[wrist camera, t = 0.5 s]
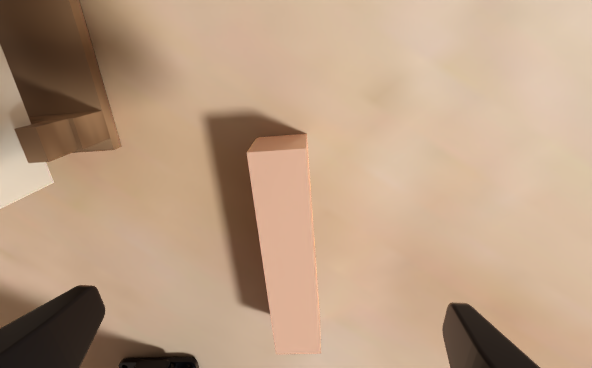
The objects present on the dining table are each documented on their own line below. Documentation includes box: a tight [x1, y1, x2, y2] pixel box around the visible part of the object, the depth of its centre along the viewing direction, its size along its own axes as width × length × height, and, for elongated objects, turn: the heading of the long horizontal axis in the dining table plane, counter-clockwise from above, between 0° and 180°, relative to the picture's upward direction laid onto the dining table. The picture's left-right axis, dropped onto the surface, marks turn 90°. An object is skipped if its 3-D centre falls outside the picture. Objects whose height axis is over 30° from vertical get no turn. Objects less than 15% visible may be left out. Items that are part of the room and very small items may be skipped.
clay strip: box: [247, 134, 321, 354], centre depth 20 cm, size 14×3×4 cm, turn 5°
